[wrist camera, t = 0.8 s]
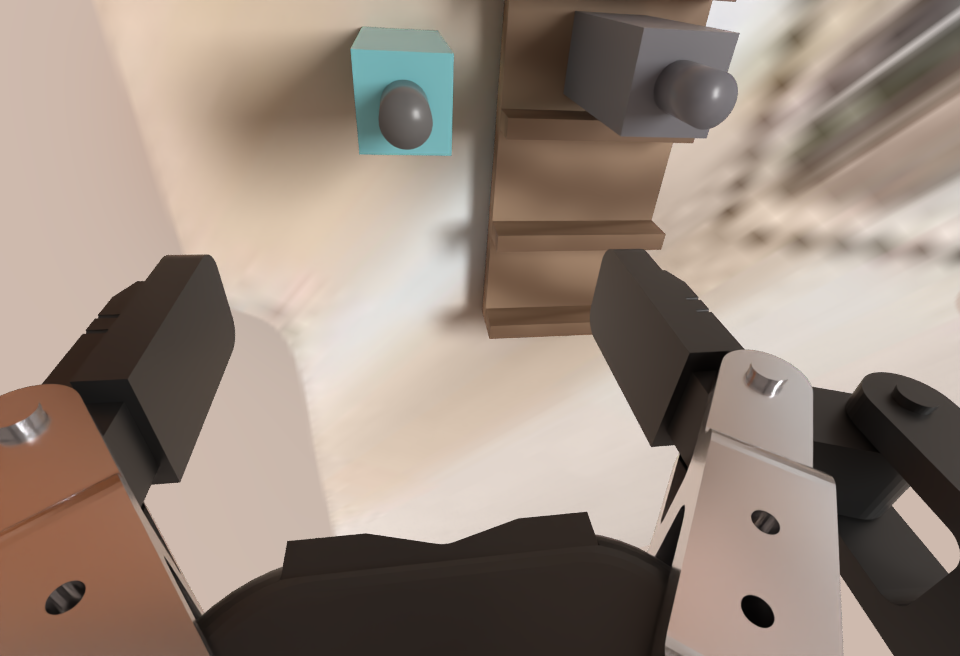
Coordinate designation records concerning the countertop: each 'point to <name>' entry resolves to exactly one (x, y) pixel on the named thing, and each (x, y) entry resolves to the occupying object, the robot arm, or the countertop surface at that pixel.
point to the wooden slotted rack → (563, 175)
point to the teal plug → (403, 91)
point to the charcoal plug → (651, 74)
